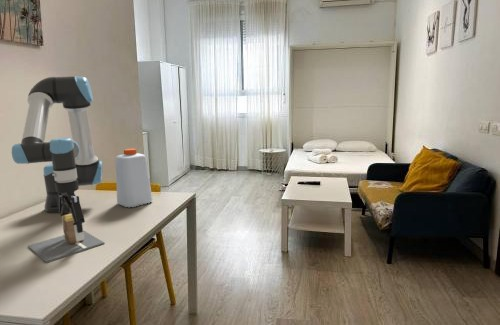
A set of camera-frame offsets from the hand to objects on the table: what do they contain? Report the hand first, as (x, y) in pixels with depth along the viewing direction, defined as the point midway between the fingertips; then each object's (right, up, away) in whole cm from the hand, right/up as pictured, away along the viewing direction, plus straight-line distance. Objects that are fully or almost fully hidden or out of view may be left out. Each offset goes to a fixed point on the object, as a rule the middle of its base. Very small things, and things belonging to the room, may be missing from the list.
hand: (73, 236), depth 137 cm
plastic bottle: (+8, +7, +49) cm, 50 cm away
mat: (-2, -3, -2) cm, 4 cm away
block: (0, -2, 0) cm, 2 cm away
